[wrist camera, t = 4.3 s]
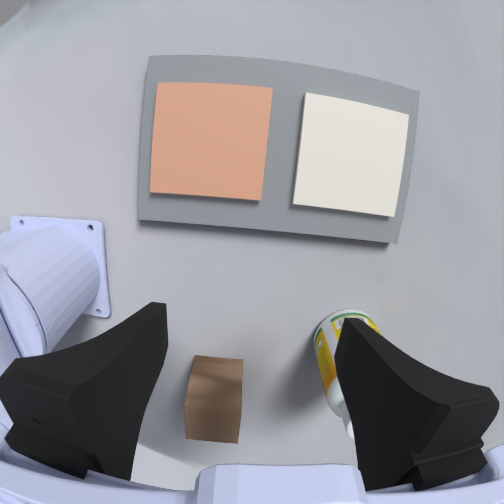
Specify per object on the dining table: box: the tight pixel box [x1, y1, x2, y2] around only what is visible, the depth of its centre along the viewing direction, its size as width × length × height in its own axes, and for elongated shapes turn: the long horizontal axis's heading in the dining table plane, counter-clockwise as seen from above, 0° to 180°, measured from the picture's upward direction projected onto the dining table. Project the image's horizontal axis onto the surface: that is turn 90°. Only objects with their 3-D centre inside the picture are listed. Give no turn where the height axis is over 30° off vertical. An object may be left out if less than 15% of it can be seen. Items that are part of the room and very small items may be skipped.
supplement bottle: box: [313, 310, 382, 440], centre depth 20 cm, size 5×5×10 cm
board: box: [138, 55, 419, 244], centre depth 19 cm, size 18×11×2 cm, turn 84°
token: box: [184, 355, 243, 444], centre depth 23 cm, size 4×4×6 cm
